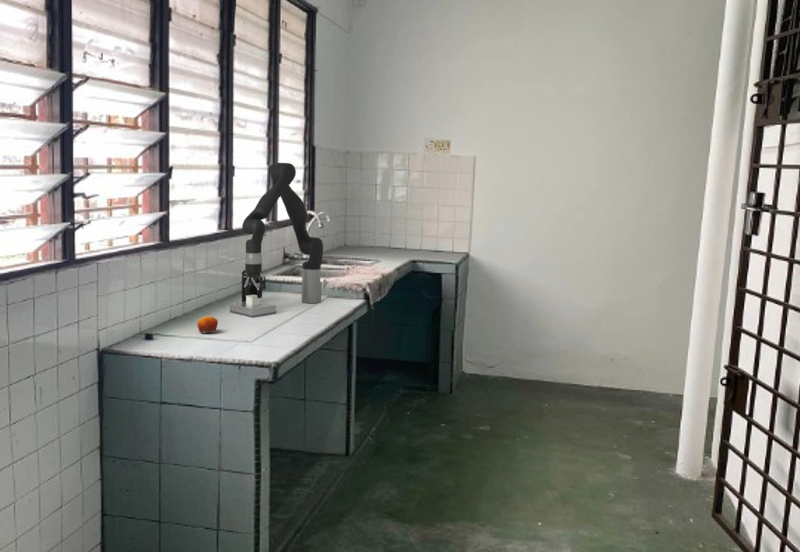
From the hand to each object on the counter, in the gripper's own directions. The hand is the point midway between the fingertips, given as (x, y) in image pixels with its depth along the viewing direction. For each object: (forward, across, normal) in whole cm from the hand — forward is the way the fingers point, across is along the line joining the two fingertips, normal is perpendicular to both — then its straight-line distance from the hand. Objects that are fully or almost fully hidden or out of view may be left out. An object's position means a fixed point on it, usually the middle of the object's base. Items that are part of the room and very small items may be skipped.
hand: (253, 296), depth 335 cm
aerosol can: (+8, +17, -12) cm, 22 cm away
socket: (+8, 0, 0) cm, 8 cm away
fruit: (+7, -19, +39) cm, 44 cm away
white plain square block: (+7, 0, 0) cm, 7 cm away
